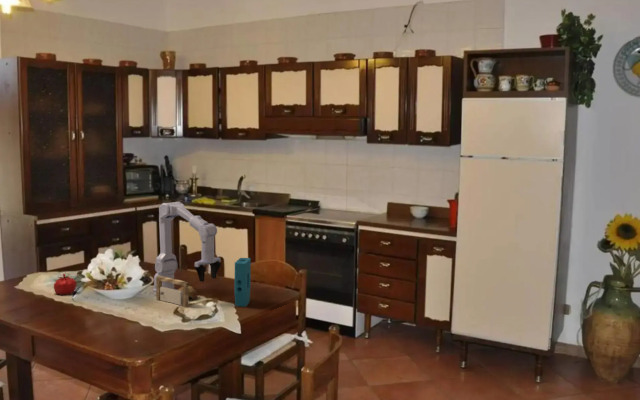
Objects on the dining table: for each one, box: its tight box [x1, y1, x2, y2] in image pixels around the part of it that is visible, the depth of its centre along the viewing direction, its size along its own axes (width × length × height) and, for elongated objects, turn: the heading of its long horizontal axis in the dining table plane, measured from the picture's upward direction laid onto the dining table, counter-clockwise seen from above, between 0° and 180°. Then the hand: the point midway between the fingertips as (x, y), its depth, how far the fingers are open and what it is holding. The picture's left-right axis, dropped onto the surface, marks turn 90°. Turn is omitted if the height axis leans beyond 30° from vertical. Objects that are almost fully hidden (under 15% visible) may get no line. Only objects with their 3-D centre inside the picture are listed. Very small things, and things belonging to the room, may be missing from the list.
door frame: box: [155, 276, 189, 308], centre depth 274 cm, size 19×2×11 cm, turn 55°
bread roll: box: [177, 285, 198, 302], centre depth 282 cm, size 10×10×8 cm
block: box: [234, 257, 252, 307], centre depth 275 cm, size 12×5×20 cm, turn 174°
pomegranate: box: [53, 273, 78, 295], centre depth 287 cm, size 10×10×9 cm
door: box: [159, 287, 183, 306], centre depth 274 cm, size 15×2×6 cm, turn 55°
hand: (207, 279), depth 277 cm, fingers open, 7 cm apart
